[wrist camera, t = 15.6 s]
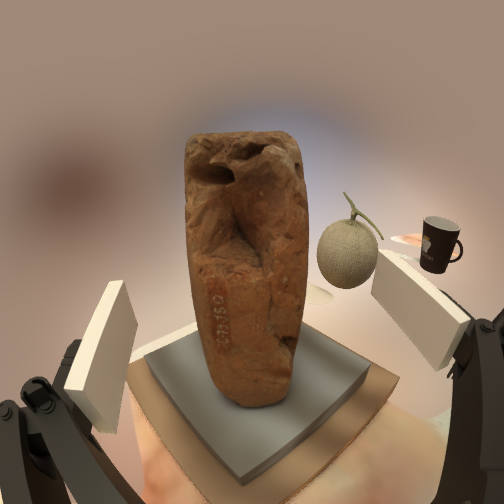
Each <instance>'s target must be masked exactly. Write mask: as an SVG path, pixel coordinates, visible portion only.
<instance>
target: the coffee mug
mask: <svg viewBox="0 0 504 504" xmlns="http://www.w3.org/2000/svg"><path fill="white" fill-rule="evenodd" d="M423 221H424V222H423V236H422V247H421V257H420V266H421V267H422V268H423V269H424V270H426V271H428V272H430V273H434V274H442V273H444V272H445V270H446V268H447V266H448V263H452V262H456V261H458V260H459V259H460V258H461V256H462V254H463V246H462V244H461V242H460V241H459V240H457V238H458V235H459V232H460V229H461V227H460V226H459V225H458V224H457V223H455V222H454V221H451V220H449V219H446V218H443V217H438V216H426V217H424V220H423ZM456 243H458V244H459V247H460V255H459V256H458V257H457V258H456V259H454V260H450V258H451V255H452V253H453V250H454V247H455V244H456Z"/></svg>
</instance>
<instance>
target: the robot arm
mask: <svg viewBox="0 0 504 504" xmlns="http://www.w3.org/2000/svg"><path fill="white" fill-rule="evenodd" d="M371 294H372V296H373V297H374V298H375V299H376V300H377V301H378V302H379V303H380V305H382V307H383V308H384V309H385V310H386V311H387V312H388V314H389V315H390V316H391V317H392V318H393V320H394V321H395V322H396V323H397V324H398V325H399V327H400V328H401V329H402V330H403V331H404V333H405V334H406V335H407V336H408V337H409V339H410V340H411V341H412V342H413V343H414V345H415V346H416V347H417V348H418V350H419V351H420V352H421V353H422V354H423V356H424V357H425V358H426V360H427V361H428V362H429V363H430V365H431V366H432V367H433V368H434V370H435V371H439V370H440V369H443V368H444V367H446V366H447V365H448V364H449V362H450V360H451V358H452V356H453V357H454V359H455V360H456V361H455V363H454V364H453V366H452V368H451V370H450V371H449V373H448V375H447V378H449V377H450V375H451V374H452V373H453V376H452V379H453V393H452V394H453V395H452V409H451V420H450V429H449V436H448V443H447V450H446V455H445V461H444V466H443V471H442V475H441V480H440V484H439V488H438V491H437V494H436V497H435V498H434V500H433V501H432V502H431V504H504V308H503V310H502V311H501V312H500V313H499V314H498V316H497V317H496V318H495V319H494V320H493V321H492V322H491V321H489V320H486V319H477V320H475V319H474V318H473V317H472V316H471V315H470V314H469V313H468V312H467V311H466V310H465V309H463V308H462V307H461V306H460V305H459V304H457V302H456V301H454V300H452V298H451V297H450V296H449V295H448V294H446V293H445V292H444V291H442V290H440V289H438V288H436V287H435V286H434V285H432V284H431V283H430V282H429V281H428V280H427V279H425V278H424V277H423V276H422V275H421V274H419V273H418V272H417V271H416V270H415V269H413V268H412V267H411V266H410V265H408V264H407V263H406V262H405V261H403V260H402V259H401V258H400V257H398V256H397V255H396V254H395V253H393V252H392V251H391V250H382V251H378V257H377V263H376V269H375V274H374V280H373V285H372V290H371ZM137 326H138V323H137V320H136V318H135V315H134V312H133V309H132V306H131V302H130V299H129V296H128V293H127V289H126V286H125V283H124V280H119V281H110V282H109V284H108V286H107V288H106V290H105V292H104V294H103V296H102V298H101V300H100V302H99V304H98V306H97V308H96V311H95V313H94V315H93V317H92V319H91V321H90V324H89V326H88V328H87V330H86V333H85V335H84V337H83V340H74V341H73V343H72V344H71V345H70V346H69V347H68V348H67V350H66V353H65V355H64V359H63V360H62V362H61V366H60V367H59V369H58V372H57V374H56V377H55V379H54V382H53V384H52V386H51V384H50V383H49V382H48V380H47V379H46V378H44V377H34V378H31V379H30V380H28V381H27V382H26V383H25V384H24V386H23V387H22V390H21V393H20V394H21V399H22V401H23V402H24V403H25V404H26V405H27V406H28V407H23V408H19V406H18V405H17V404H16V403H15V402H14V401H12V400H5V401H3V402H1V403H0V489H1V494H2V499H3V504H71V502H70V499H69V496H68V493H67V490H66V487H65V484H64V482H65V483H66V485H67V487H68V489H69V490H70V492H71V493H72V495H73V497H74V499H75V500H76V502H77V503H78V504H146V503H145V502H144V501H143V500H142V499H141V498H140V497H139V496H138V495H137V493H136V492H135V491H134V490H133V489H132V488H131V486H130V485H129V484H128V483H127V481H126V480H125V479H124V478H123V476H122V475H121V474H120V473H119V471H118V470H117V469H116V467H115V466H114V465H113V463H112V462H111V461H110V459H109V458H108V456H107V455H106V454H105V452H104V451H103V449H102V448H101V446H100V445H99V443H98V442H97V440H96V439H95V437H94V436H93V435H92V434H91V429H92V425H93V426H94V427H95V428H96V429H97V430H98V432H102V433H113V434H116V433H117V426H118V420H119V413H120V407H121V401H122V395H123V390H124V385H125V380H126V375H127V370H128V365H129V360H130V356H131V351H132V347H133V343H134V338H135V334H136V330H137Z"/></svg>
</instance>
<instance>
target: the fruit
mask: <svg viewBox="0 0 504 504" xmlns="http://www.w3.org/2000/svg"><path fill="white" fill-rule="evenodd" d="M343 193H344V195H345V196H346V198H347V200H348V201H349V203H350V204H351V207H352V211H351V219H344V220H339V221H337V222H335V223H333V224H331V225H330V226H328V227H327V228H326V229H325V231H324V232H323V234H322V236H321V238H320V240H319V243H318V248H317V262H318V266H319V269H320V271H321V273H322V275H323V276H324V278H325V279H326V280H327V281H328V282H329V283H330V284H332V285H334V286H335V287H338V288H342V289H351V288H355V287H357V286H359V285H361V284H363V283H364V282H365V281H366V280H367V279H368V278H369V277H370V276H371V274H372V273H373V271H374V269H375V267H376V263H377V257H378V243H377V241H376V238H375V236H374V234H373V232H372V231H371V230H370V228H369V227H368V226H367V225H366V224H364V223H362V222H360V221H357V220H355V218H356V216H357V214H358V215H360V216H362V217H363V218H364V219H366V220H367V221H368V222H369V223H370V224H371V225H372V226H373V227H374V228H375V229H376V231H377V232H378V234H379V235H380V237H381V239H382V240H384V238H383V236H382V235H381V233H380V232H379V230H378V229H377V228H376V226H375V225H374V224H373V223H372V222H371V221H370V220H369V219H368V218H367V217H366V216H365V215H363V214H362V213H361V212H359V211H358V210H357V209H356V208H355V205H354V204H353V202H352V201H351V199H350V198H349V197H348V196H347V195H346V194H345V192H343Z"/></svg>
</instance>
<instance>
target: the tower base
mask: <svg viewBox="0 0 504 504" xmlns="http://www.w3.org/2000/svg"><path fill="white" fill-rule="evenodd" d="M399 379H400V377H399V376H397V375H395V374H393V373H391V372H390V371H388V370H386V369H384V368H382V367H380V366H378V365H377V364H375V363H373V362H372V361H370V360H368V359H366V358H364V357H363V356H361V355H359V354H357V353H355V352H354V351H352V350H350V349H348V348H347V347H345V346H343V345H342V344H340V343H338V342H336V341H335V340H333V339H331V338H330V337H328V336H326V335H324V334H323V333H321V332H319V331H317V330H316V329H314V328H312V327H311V326H309V325H307V324H306V323H304V322H301V328H300V334H299V339H298V344H297V347H296V351H295V356H294V359H293V371H292V378H291V383H290V387H289V391H288V392H287V394H286V396H285V397H284V399H282V400H280V401H279V402H276V403H274V404H268V405H264V406H260V407H243V406H240V405H238V404H236V403H235V402H234V401H233V400H232V399H230V398H228V397H227V396H225V394H224V393H222V392H221V391H220V390H219V389H218V388H217V387H216V386H215V385H214V383H213V381H212V379H211V377H210V373H209V370H208V367H207V363H206V360H205V356H204V352H203V348H202V343H201V340H200V336H199V331H198V330H197V331H195V332H193V333H191V334H189V335H187V336H185V337H183V338H181V339H179V340H177V341H175V342H172V343H170V344H168V345H166V346H164V347H162V348H160V349H157V350H155V351H153V352H151V353H149V354H147V355H144V357H143V358H141V359H139V360H137V361H135V362H132V363H130V364H129V365H128V370H127V375H126V381H127V383H128V385H129V387H130V389H131V391H132V393H133V394H134V396H135V398H136V400H137V402H138V403H139V405H140V407H141V408H142V410H143V412H144V414H145V415H146V417H147V419H148V420H149V422H150V423H151V425H152V427H153V428H154V430H155V431H156V433H157V434H158V436H159V437H160V439H161V440H162V442H163V443H164V445H165V446H166V448H167V449H168V451H169V452H170V453H171V455H172V456H173V458H174V459H175V460H176V462H177V463H178V464H179V466H180V467H181V468H182V470H183V471H184V472H185V474H186V475H187V476H188V477H189V479H190V480H191V481H192V482H193V484H194V485H195V486H196V487H197V488H198V490H199V491H200V492H201V493H202V494H203V496H204V497H205V498H206V499H207V500H208V501H209V502H210V503H211V504H284V503H285V502H286V501H288V500H289V499H290V498H292V497H293V496H294V495H295V494H297V493H298V492H299V491H300V490H302V489H303V488H304V487H305V486H306V485H307V484H309V483H310V482H311V481H312V480H313V479H314V478H315V477H317V476H318V475H319V474H320V473H321V472H322V471H323V470H324V469H325V468H326V467H327V466H328V465H329V464H331V463H332V462H333V461H334V460H335V459H336V458H337V457H338V456H339V455H340V454H341V453H342V452H343V451H344V449H345V448H346V447H347V446H348V445H349V444H350V443H351V442H352V441H353V440H354V439H355V438H356V437H357V436H358V434H359V433H360V432H361V431H362V430H363V429H364V428H365V426H366V425H367V424H368V423H369V422H370V421H371V419H372V418H373V417H374V416H375V414H376V413H377V412H378V411H379V409H380V408H381V407H382V406H383V404H384V403H385V402H386V401H387V399H388V398H389V397H390V395H391V394H392V392H393V390H394V388H395V386H396V384H397V383H398V381H399Z"/></svg>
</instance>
